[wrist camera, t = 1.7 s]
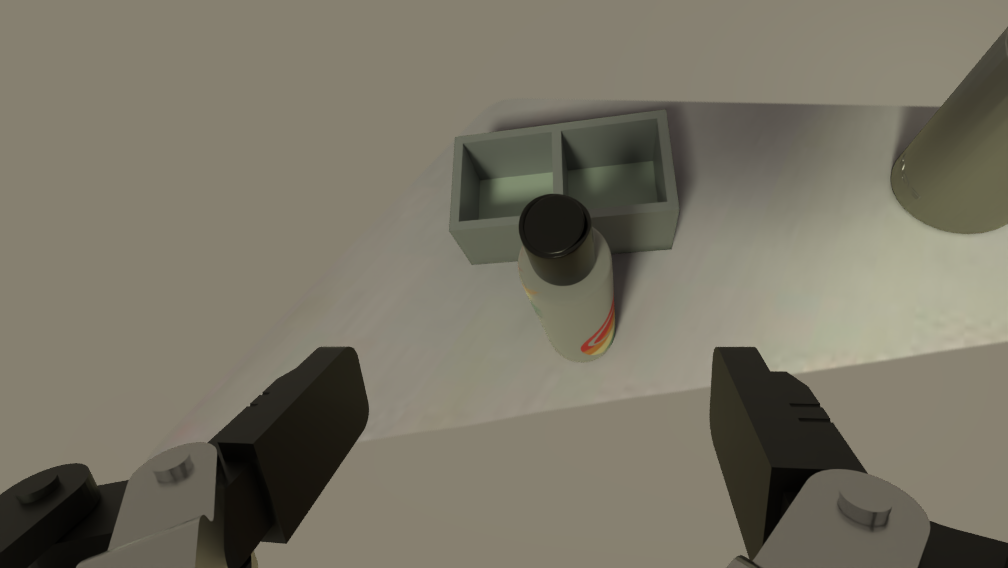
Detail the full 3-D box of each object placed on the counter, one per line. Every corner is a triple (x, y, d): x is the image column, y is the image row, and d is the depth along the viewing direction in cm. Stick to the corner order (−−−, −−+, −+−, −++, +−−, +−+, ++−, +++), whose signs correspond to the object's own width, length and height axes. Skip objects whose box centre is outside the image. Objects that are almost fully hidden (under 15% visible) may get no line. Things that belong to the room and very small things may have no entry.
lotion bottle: (629, 327, 43) (634, 209, 25) (585, 377, 42) (558, 293, 24) (578, 288, 45) (548, 154, 27) (536, 335, 44) (476, 229, 26)
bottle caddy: (660, 159, 48) (666, 109, 42) (671, 249, 45) (679, 209, 38) (475, 179, 52) (454, 137, 46) (471, 264, 48) (449, 230, 42)
